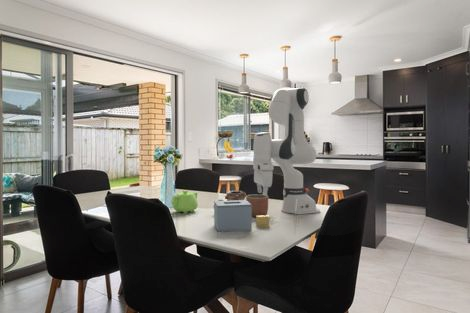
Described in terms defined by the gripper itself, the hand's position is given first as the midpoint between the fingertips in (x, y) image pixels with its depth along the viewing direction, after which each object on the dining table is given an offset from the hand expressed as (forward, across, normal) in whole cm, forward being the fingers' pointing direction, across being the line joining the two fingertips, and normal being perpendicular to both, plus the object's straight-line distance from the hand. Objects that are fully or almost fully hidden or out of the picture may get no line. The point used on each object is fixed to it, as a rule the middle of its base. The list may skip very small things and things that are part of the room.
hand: (262, 194), depth 155 cm
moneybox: (+16, 0, -15) cm, 22 cm away
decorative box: (+15, -50, -5) cm, 53 cm away
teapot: (+16, -40, -36) cm, 56 cm away
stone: (+16, -28, -16) cm, 36 cm away
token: (+16, 0, 0) cm, 16 cm away
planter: (+16, -22, +3) cm, 27 cm away
